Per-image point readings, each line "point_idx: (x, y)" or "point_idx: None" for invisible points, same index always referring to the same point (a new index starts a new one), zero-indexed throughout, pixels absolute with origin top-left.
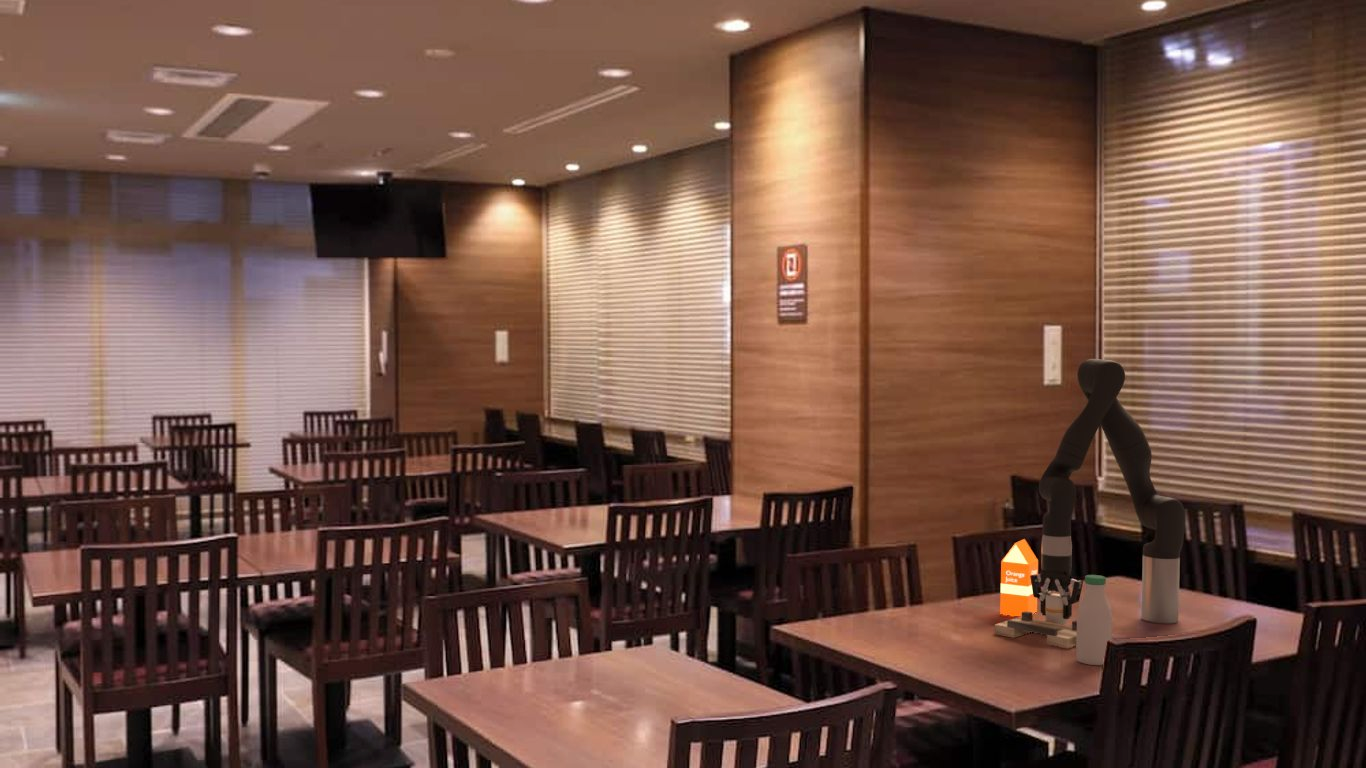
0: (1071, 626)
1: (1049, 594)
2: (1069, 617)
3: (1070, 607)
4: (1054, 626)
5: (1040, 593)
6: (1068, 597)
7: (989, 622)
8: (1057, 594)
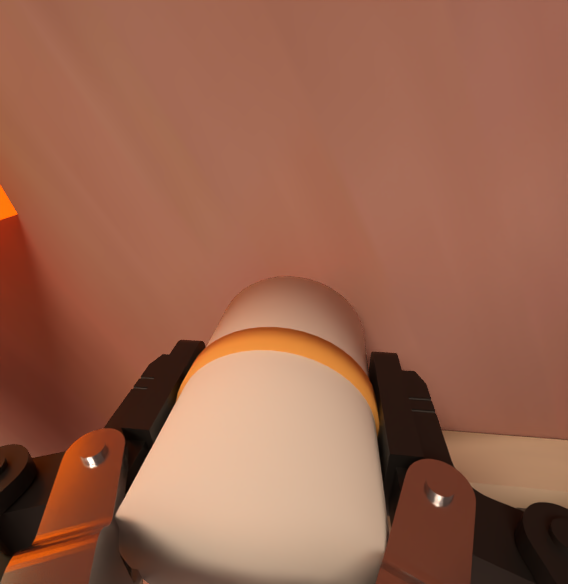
0: (477, 488)
1: (144, 547)
2: (395, 357)
3: (436, 456)
4: (389, 527)
5: (28, 525)
6: (428, 563)
7: (31, 429)
8: (210, 511)
